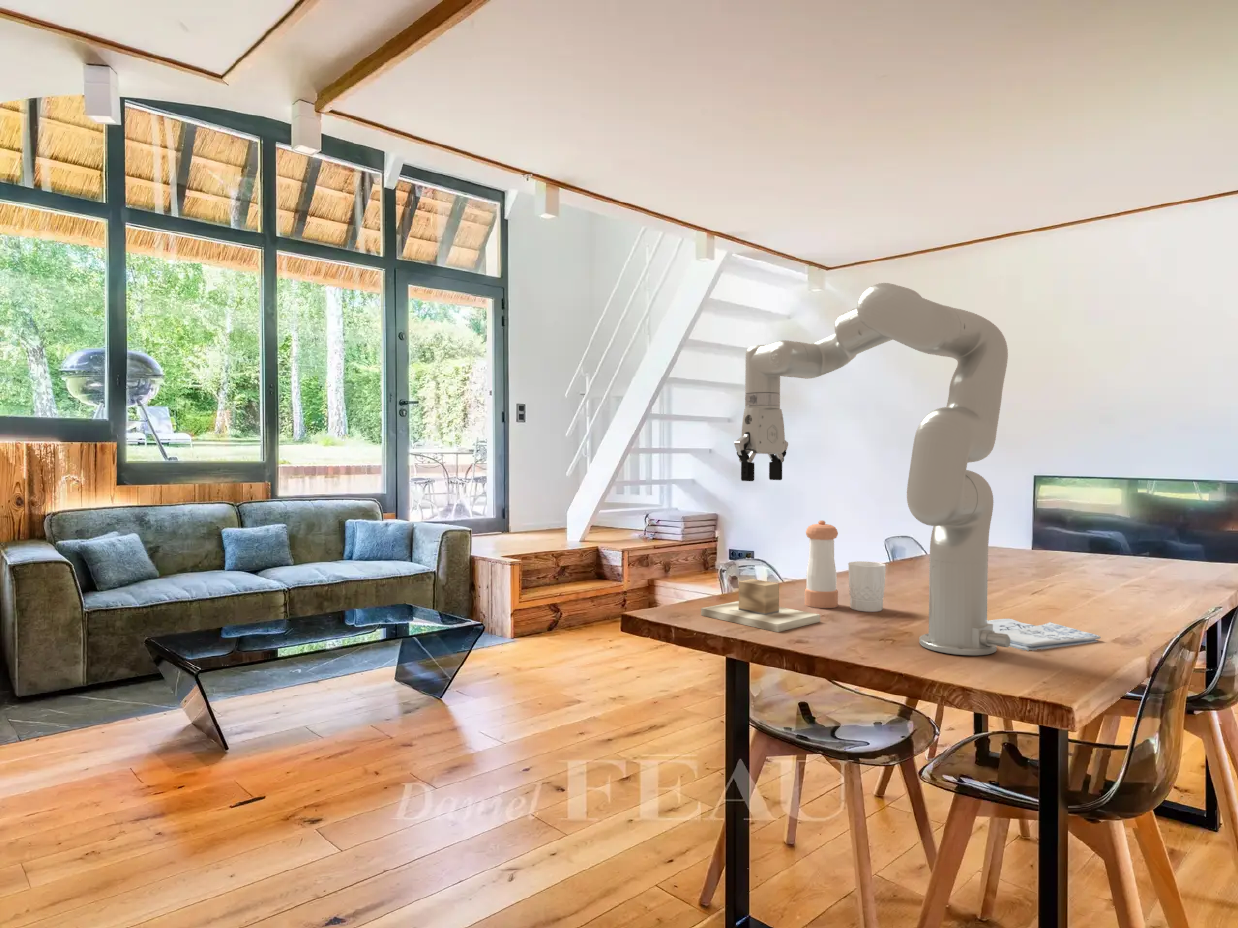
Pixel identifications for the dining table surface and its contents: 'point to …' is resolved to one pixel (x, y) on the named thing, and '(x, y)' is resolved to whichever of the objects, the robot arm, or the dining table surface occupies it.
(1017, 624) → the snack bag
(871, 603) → the white cup
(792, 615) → the board
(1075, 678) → the dining table surface
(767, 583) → the block
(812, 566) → the pepper shaker
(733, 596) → the dining table surface
